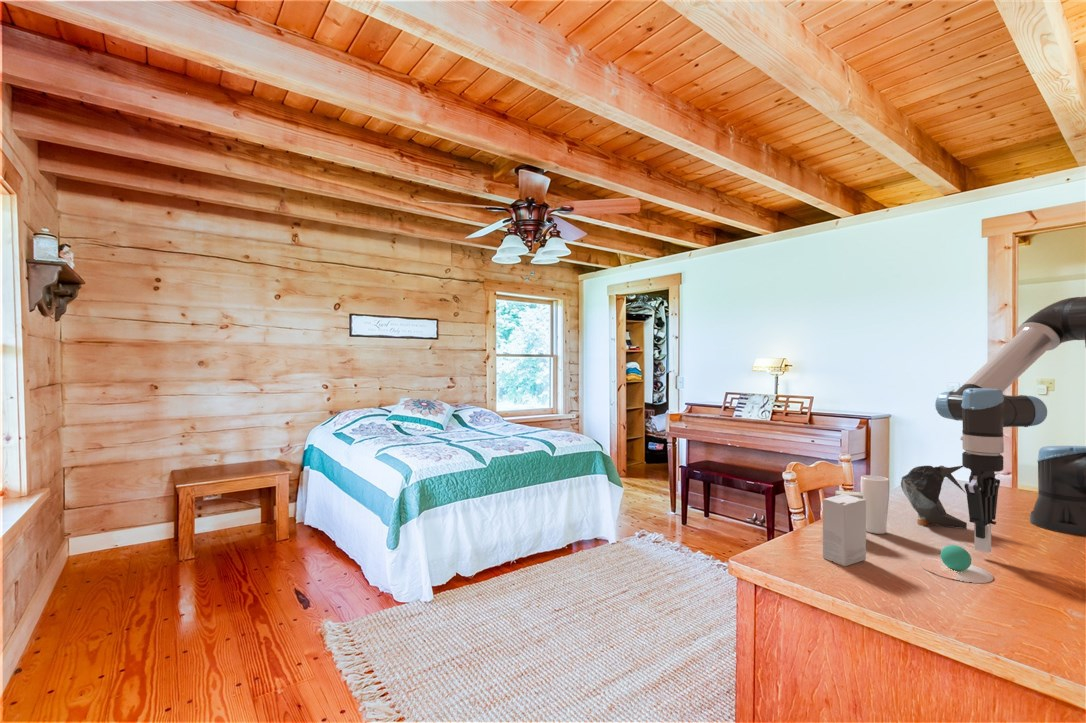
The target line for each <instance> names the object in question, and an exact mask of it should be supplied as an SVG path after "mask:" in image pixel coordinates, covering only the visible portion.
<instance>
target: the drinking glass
mask: <svg viewBox="0 0 1086 723" xmlns="http://www.w3.org/2000/svg"><path fill="white" fill-rule="evenodd" d="M860 492H861V494H862V495H863V499H864V500H866V533H871V534H874V535H884V534H886V533H887V531H888V530H887V528H888V527H887V525H888V515H889V514H888V511H889V502H890V479H889V478H887V477H885V476H880V475H871V474H870V475H869V474H865V475H861V476H860Z"/></svg>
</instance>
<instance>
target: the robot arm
mask: <svg viewBox="0 0 1086 723" xmlns="http://www.w3.org/2000/svg"><path fill="white" fill-rule="evenodd" d="M1071 341H1084V344H1085V345H1084V346H1085V347H1084V348H1086V296H1076V297H1068V298H1065V299H1061V300H1058V301H1056V302H1053V303H1051V304H1049V305H1047V306H1045V307H1044V308H1042V309H1041V310H1039V311H1037V312H1035V313H1034V314H1032V315H1031V316H1030V317H1028V318H1027V319H1025V321H1023V322H1022V324H1020V325H1019V326H1018V327H1017V329H1016V335H1015V336H1014V337H1012V339H1010V340H1009V341H1008V342H1007V343H1006V344H1005V345H1004V346H1002V348H1001V349H999V351H997V353H995V354H994V355H993V356H992V357H991V358H990V359H989V360H988V361H987V362H986V363H985V364H983V366H982V367H981V368H980V369H979V370H978V371H976V372H975V373H974V374H973V375H972V376H971V377H970V378H969V379H968V380H967V381H966V382H965V383H963V384H962V386H960V387H959V388H958V389H957V390H956V391H953V390H950V391H944V392H941V393H939V394H938V396H937V397H936V399H935V402H934V403H935V410H936V411H937V414H938V415H939V416H940V417H942V418H944V419H948V420H954V421H961V422H962V436H960V437H959V438H960V439H959V440H960V441H962V450H964V451H963V452H962V455H961V456H962V457H961V459H962V460H961V461H962V463H961V464H962V465H961V466H963V467H962V468H964V469H969V470H970V474H969V476H968V482H969V483H967V482H965V483H964V491H965V494H966V500H967V501H966V502H967V509H968V517H969V520H968V521H969V523H973V524H974V530H973V531H974V535H973V536H974V537H973V538H974V540H973V541H974V550H975V551H979V552H983V553H986V554H989V553H992V525H994V526H995V525H997V521H995V520H996V515H997V507H998V497H999V489H1000V484H1001V479H998V478H996V473H997V472H999V473H1000V472H1002V471H1004V456H1003V455H1002V454H1003V453H1004V452H1005V451H1004V446H1005V445H1004V444H1005V442H1004V441H1005V440H1004V428H1013V427H1014V428H1015V427H1016V428H1019V427H1022V428H1029V427H1035V426H1037V425H1041V424H1042V423H1043V422H1044V421H1045V420H1046V419H1047V416H1048V408H1047V405H1046V404H1045V402H1044V401H1043V400H1042V399H1040V398H1039V397H1036V396H1033V395H1026V394H1025V395H1023V394H1019V395H1006V394H1004V392H1005V391H1006V390H1007V389H1008V388H1009V387H1010V386H1011V385H1012V384H1013V383H1014V382H1015V381H1016V380H1017V379H1019V378H1020V377H1021V376H1022V375H1023V374H1024V373H1025V372H1026V371H1027V370H1028V369H1029V368H1030V367H1031V366H1033V364H1034V363H1036V361H1037V360H1038V359H1039V358H1041V357H1042V356H1043V355H1044V354H1045V353H1046V352H1048V351H1053V350H1055V349H1056V348H1058V347H1059V346H1060V345H1061V344H1062V343H1063V344H1064V343H1066V342H1071ZM1036 462H1037V476H1038V477H1037V480H1038V481H1037V483H1038V484H1037V486H1038V487H1037V488H1038V491H1037V492H1038V493H1037V494H1038V495H1037V498H1036V500H1035V503H1034V506H1033V509H1032V511H1031V512H1030V513H1029V521H1030V523H1031V524H1033V525H1035V526H1038V527H1040V528H1043V529H1046V530H1050V531H1054V532H1060V533H1064V534H1072V535H1078V536H1079V535H1080V536H1086V445H1048V446H1042V447H1040V448H1039V450H1038V456H1037V460H1036ZM995 472H996V473H995Z"/></svg>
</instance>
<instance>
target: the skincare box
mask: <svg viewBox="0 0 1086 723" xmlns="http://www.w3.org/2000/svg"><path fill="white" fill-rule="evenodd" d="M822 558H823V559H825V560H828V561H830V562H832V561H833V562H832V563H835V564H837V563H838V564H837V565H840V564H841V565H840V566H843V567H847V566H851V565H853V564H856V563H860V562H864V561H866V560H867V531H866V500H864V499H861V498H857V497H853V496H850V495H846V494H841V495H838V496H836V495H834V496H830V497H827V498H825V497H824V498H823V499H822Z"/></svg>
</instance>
